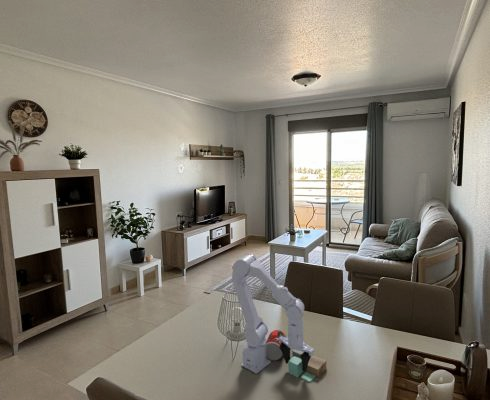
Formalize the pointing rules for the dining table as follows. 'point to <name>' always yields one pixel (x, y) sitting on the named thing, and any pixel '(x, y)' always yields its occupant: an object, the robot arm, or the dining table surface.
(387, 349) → the dining table surface
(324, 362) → the walnut base
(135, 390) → the dining table surface
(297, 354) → the grey block
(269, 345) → the canned food
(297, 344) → the robot arm
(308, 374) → the swatch
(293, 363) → the teal block
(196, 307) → the dining table surface
